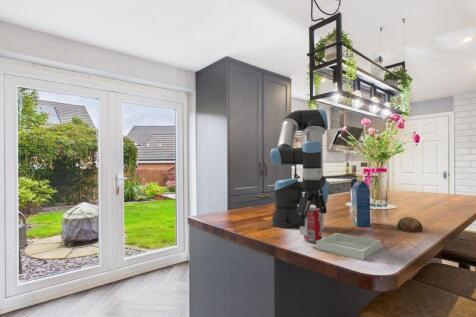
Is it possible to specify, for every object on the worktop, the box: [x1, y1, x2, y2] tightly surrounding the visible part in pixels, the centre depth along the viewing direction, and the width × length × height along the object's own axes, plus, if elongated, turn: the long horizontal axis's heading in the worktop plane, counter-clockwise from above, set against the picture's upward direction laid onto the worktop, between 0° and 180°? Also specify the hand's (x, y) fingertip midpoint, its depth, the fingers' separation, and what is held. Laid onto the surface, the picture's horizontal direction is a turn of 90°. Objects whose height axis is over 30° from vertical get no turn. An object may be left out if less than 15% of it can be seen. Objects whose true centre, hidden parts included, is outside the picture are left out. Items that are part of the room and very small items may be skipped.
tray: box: [315, 232, 381, 261], centre depth 101 cm, size 17×17×3 cm
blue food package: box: [351, 174, 371, 228], centre depth 142 cm, size 6×12×25 cm, turn 168°
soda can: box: [303, 206, 323, 244], centre depth 112 cm, size 7×7×13 cm
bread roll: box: [397, 216, 424, 234], centre depth 130 cm, size 10×10×8 cm
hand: (312, 231), depth 112 cm, fingers open, 13 cm apart
